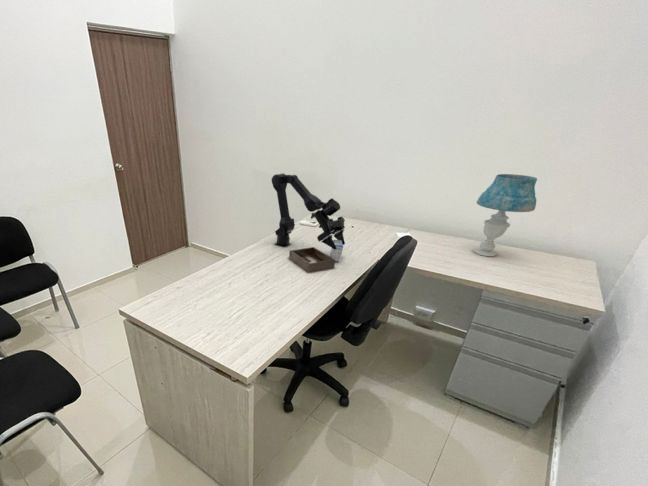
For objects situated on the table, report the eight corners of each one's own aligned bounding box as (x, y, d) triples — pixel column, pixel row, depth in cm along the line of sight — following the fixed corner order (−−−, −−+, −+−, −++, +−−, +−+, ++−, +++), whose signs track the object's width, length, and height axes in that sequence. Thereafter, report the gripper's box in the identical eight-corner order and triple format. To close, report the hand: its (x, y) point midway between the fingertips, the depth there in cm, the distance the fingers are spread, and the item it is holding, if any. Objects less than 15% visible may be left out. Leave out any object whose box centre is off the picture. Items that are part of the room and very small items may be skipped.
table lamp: (463, 258, 173) (494, 179, 153) (455, 243, 192) (481, 171, 173) (518, 264, 166) (557, 182, 146) (504, 248, 185) (537, 174, 165)
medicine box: (330, 254, 175) (333, 239, 171) (338, 255, 174) (341, 240, 170) (331, 260, 168) (334, 244, 164) (340, 261, 168) (343, 245, 163)
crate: (288, 258, 174) (289, 250, 171) (312, 254, 178) (313, 246, 176) (308, 272, 158) (309, 264, 156) (333, 268, 163) (335, 259, 161)
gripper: (326, 215, 156) (343, 243, 155) (344, 208, 168) (361, 234, 167) (310, 228, 165) (326, 254, 164) (328, 220, 176) (343, 244, 175)
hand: (339, 246), depth 167 cm, fingers closed on medicine box, 9 cm apart
